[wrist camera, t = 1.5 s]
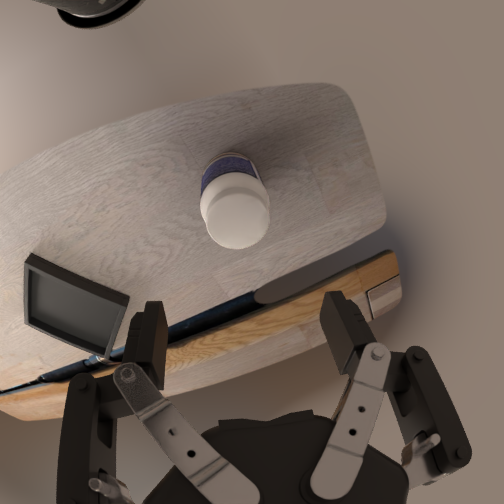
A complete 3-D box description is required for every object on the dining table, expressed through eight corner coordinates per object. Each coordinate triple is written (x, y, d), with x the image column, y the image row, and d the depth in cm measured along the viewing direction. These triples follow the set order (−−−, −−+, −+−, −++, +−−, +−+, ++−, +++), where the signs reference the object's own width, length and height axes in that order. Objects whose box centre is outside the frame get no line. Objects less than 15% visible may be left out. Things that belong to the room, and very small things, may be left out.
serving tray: (29, 314, 36) (24, 323, 34) (30, 252, 30) (24, 261, 28) (110, 349, 42) (108, 359, 40) (129, 296, 36) (127, 307, 34)
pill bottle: (190, 181, 29) (182, 227, 20) (228, 140, 27) (236, 168, 19) (231, 213, 31) (240, 267, 23) (268, 175, 30) (293, 219, 21)
